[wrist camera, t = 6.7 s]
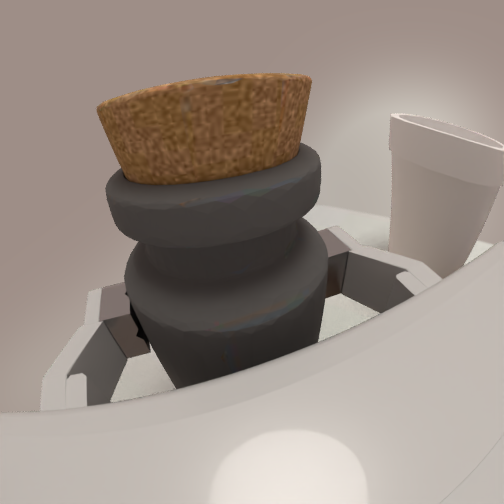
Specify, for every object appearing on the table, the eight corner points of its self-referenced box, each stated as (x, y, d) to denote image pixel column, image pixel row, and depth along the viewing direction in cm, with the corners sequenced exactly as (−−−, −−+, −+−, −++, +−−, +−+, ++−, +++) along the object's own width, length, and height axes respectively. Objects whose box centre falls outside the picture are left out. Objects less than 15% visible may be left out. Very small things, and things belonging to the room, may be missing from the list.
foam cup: (374, 239, 26) (389, 109, 19) (454, 257, 23) (485, 133, 15) (362, 303, 20) (393, 122, 12) (467, 325, 16) (531, 164, 8)
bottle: (277, 351, 17) (268, 77, 8) (321, 427, 12) (403, 82, 4) (187, 380, 15) (94, 107, 7) (216, 466, 11) (19, 128, 2)
